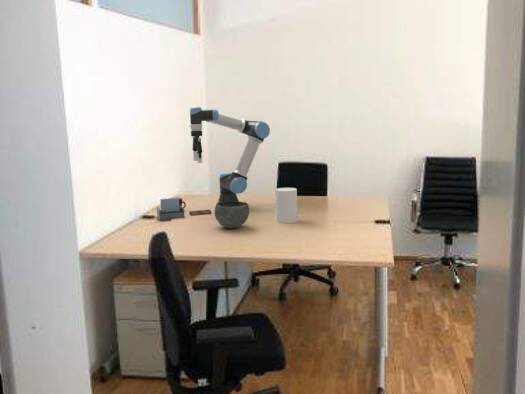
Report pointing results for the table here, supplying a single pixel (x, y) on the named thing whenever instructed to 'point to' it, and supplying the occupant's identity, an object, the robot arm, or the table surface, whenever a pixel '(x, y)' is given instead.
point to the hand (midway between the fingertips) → (197, 161)
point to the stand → (200, 212)
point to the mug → (181, 202)
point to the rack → (170, 214)
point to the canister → (286, 205)
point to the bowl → (231, 213)
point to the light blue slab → (169, 205)
